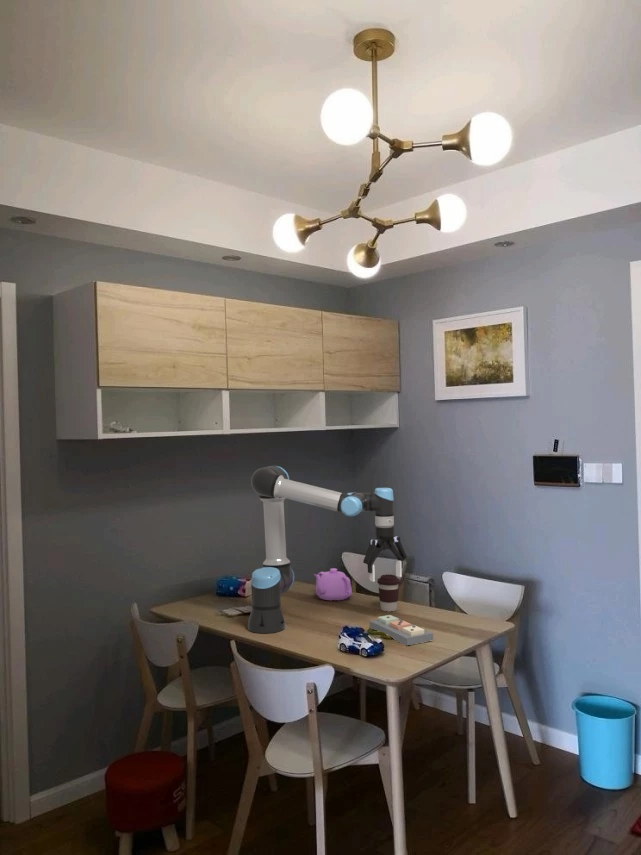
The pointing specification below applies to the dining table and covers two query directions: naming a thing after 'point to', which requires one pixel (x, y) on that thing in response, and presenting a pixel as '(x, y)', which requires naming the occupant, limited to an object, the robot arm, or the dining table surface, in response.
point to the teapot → (333, 585)
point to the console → (400, 633)
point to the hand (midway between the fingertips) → (385, 578)
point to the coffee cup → (388, 592)
